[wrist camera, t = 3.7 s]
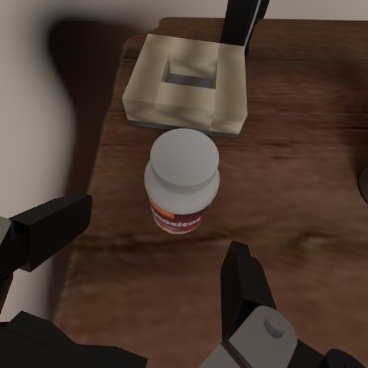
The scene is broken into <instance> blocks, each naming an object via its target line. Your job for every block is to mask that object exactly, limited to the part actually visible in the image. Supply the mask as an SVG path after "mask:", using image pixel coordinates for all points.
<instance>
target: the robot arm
mask: <svg viewBox="0 0 368 368" xmlns="http://www.w3.org/2000/svg"><path fill="white" fill-rule="evenodd" d="M359 186H360V190H361V192H362V194H363V196H364V198H365V199H366V201H367V202H368V167H367V168H365V169H364V170H363V171H362V172H361V174H360V177H359ZM91 208H92V196H91V195H88V194H84V193H81V192H74V193H72V194H70V195H68V196H66V197H61V198H56V199H53V200H50V201H48V202H46V203H45V204H41V205H39V206H37V207H34V208H32V209H29V210H27V211H25V212H22V213H20V214H18V215H15V216H13V217H11V218H8V219H7V218H4V217H0V314H1V311H2V308H3V305H4V302H5V299H6V297H7V294H8V291H9V288H10V285H11V283H12V280H13V272H14V271H15V270H17V269H18V268H19V269H22V270H25V271H27V272H31V271H33V270H34V269H35V268H37V267H38V266H39V265H41V264H42V263H43V262H44V261H46V260H47V259H48V258H50V257H51V256H52V255H53V254H55V253H56V252H57V251H59V250H60V249H61V248H63V247H64V246H65V245H67V244H68V243H69V242H70V241H72V240H73V239H74V238H76V237H77V236H78V235H80V234H81V233H82V232H83V231H85V230H86V228H87V227H88V225H89V223H90V218H91ZM220 278H221V313H222V342H221V343H220V344H219V345H218V346H217V347H216V349H215V350H214V351H213V352H212V353H211V354H210V355H209V356H208V358H207V359H206V360H205V361H204V362H203V363H202V364H201V365H200V367H199V368H365V367H364V366H363V365H362V364H361V363H360V362H359V361H357V360H356V359H355V358H353V357H352V356H351V355H349V354H347V353H346V352H343V351H341V350H338V349H331V350H329V351H328V352H327V354H326V355H325V356H323V355H322V354H320V353H319V352H317V351H316V350H314V349H312V348H311V347H309V346H308V345H306V344H305V343H303V342H302V341H300V340H299V339H298V338H297V335H296V333H295V330H294V328H293V327H292V325H291V324H290V323H289V321H288V320H287V319H286V318H285V317H284V316H283V315H282V314H281V313H279V312H278V311H277V309H276V306H275V303H274V300H273V297H272V294H271V291H270V288H269V285H268V284H267V279H266V277H265V273H264V270H263V267H262V266H261V264H260V263H259V262H258V260H257V259H256V258H255V257H251V256H250V252H249V248H248V245H246V244H243V243H239V242H236V241H232V242H231V244H230V247H229V249H228V252H227V254H226V257H225V259H224V262H223V265H222V268H221V275H220ZM147 361H148V359H147V358H145V357H142V356H139V355H137V354H134V353H131V352H129V351H126V350H124V349H121V348H118V347H116V346H99V345H81V344H76V343H75V342H73V341H72V340H71V339H70V338H69V337H68V336H66V335H65V334H64V333H63V332H62V331H61V330H60V329H59V328H57V327H56V326H55V325H54V324H53V323H52V322H50V321H47V320H45V319H42V318H40V317H36V316H34V315H31V314H29V313H26V312H24V311H21V312H20V313H18V314H17V315H16V316H15V317H14V318H13V319H12V320H11V321H10V322H0V368H145V367H146V364H147Z"/></svg>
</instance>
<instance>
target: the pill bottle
mask: <svg viewBox="0 0 368 368" xmlns="http://www.w3.org/2000/svg"><path fill="white" fill-rule="evenodd" d="M218 163H219V154H218V150H217V147H216V146H215V144H214V143H213V141H212V140H211V139H210V138H209V137H208V136H206V135H205V134H203V133H201V132H199V131H196V130H193V129H186V128H181V129H174V130H171V131H168V132H166V133H164V134H163V135H161V136H160V137H159V138H158V139H157V140H156V141H155V143H154V144H153V146H152V149H151V152H150V161H149V162H148V164H147V166H146V169H145V174H144V183H145V187H146V192H147V196H148V199H149V204H150V207H151V211H152V215H153V217H154V220H155V221H156V223H157V224H158V225H159V226H160V227H161V228H162V229H163V230H165V231H167V232H170V233H174V234H183V233H187V232H190V231H192V230H193V229H195V228H196V227H197V226H198V225H199V224H200V223H201V221H202V219H203V217H204V216H205V214H206V212H207V210H208V208H209V206H210V205H211V203H212V201H213V199H214V197H215V195H216V193H217V191H218V188H219V181H220V178H219V172H218V168H217V167H218Z"/></svg>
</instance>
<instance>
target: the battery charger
mask: <svg viewBox="0 0 368 368" xmlns="http://www.w3.org/2000/svg"><path fill="white" fill-rule="evenodd" d="M268 4H269V0H228V5H227V11H226V16H225V22H224V27H223V32H222V37H221V43H222V44H229V45H236V46H244V57H245V56H247V55H248V52H249V50H248V47H249V42H250V38H251V36H252V33H253V30H254V27H255V25H256V24H257V22H258V20H259V19H263V18H264V15H265V13H266V10H267V6H268Z"/></svg>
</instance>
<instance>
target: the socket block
mask: <svg viewBox="0 0 368 368" xmlns="http://www.w3.org/2000/svg"><path fill="white" fill-rule="evenodd" d="M122 100H123V103H124V107H125V111H126V114H127V118H128V122H129V125H136V126H143V127H151V128H158V129H165V130H174V129H181V128H186V129H193V130H196V131H199V132H201V133H203V134H205V135H210V136H218V137H225V138H232V139H237V137H238V134H239V132H240V130H241V128H242V126H243V123H244V121H245V119H246V117H247V100H246V78H245V57H244V46H236V45H229V44H221V43H214V42H206V41H199V40H191V39H184V38H176V37H169V36H161V35H154V34H148V36H147V38H146V41H145V43H144V46H143V48H142V51H141V53H140V56H139V58H138V61H137V63H136V66H135V68H134V71H133V73H132V75H131V78H130V80H129V83H128V85H127V88H126V90H125V93H124V95H123V98H122Z"/></svg>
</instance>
